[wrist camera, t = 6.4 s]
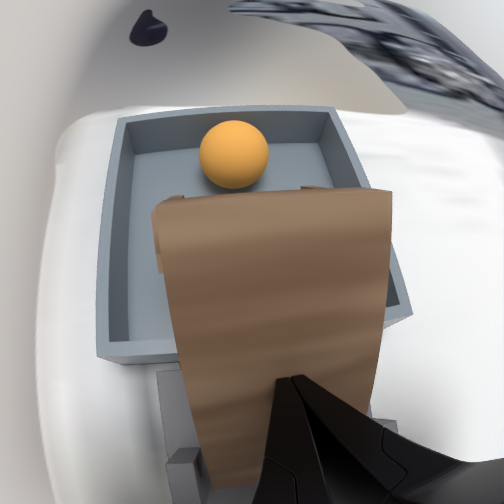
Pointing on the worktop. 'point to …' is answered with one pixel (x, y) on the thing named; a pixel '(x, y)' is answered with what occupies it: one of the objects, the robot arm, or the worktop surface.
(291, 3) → the worktop surface
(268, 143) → the bin
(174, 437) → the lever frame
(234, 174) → the ball
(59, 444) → the worktop surface
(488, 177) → the worktop surface
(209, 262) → the brown wooden angled piece
